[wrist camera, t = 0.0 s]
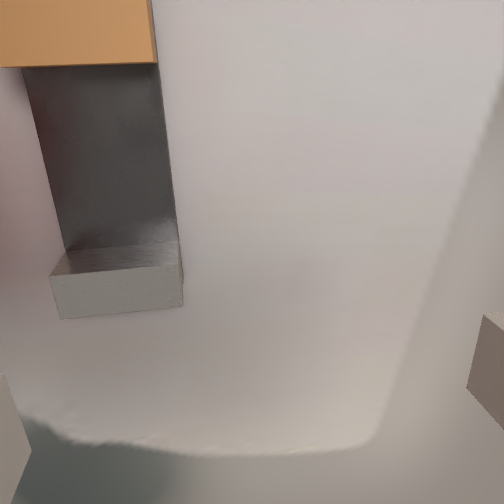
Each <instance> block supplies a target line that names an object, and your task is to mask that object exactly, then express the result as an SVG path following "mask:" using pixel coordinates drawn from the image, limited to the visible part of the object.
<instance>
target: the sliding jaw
mask: <svg viewBox="0 0 504 504" xmlns="http://www.w3.org/2000/svg"><path fill="white" fill-rule="evenodd" d="M145 63H157V55H156V46H155V38H154V29H153V21H152V12H151V3H150V1H149V0H0V67H9V68H29V67H58V66H87V65H116V64H145Z"/></svg>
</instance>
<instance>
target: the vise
mask: <svg viewBox="0 0 504 504" xmlns="http://www.w3.org/2000/svg"><path fill="white" fill-rule="evenodd" d="M149 1H150V3H151V12H152V21H153V29H154V38H155V46H156V37H155V28H154V20H153V11H152V2H151V0H149ZM156 55H157V63H145V64H116V65H87V66H58V67H29V68H22V71H23V76H24V80H25V84H26V88H27V92H28V96H29V100H30V105H31V109H32V113H33V117H34V121H35V125H36V130H37V134H38V138H39V142H40V146H41V150H42V154H43V159H44V163H45V167H46V171H47V175H48V179H49V183H50V188H51V192H52V196H53V200H54V204H55V208H56V213H57V217H58V221H59V225H60V229H61V233H62V237H63V242H64V246H65V250H66V252H65V253H64V255H63V256H62V258H61V259H60V261H59V262H58V264H57V265H56V267H55V268H54V270H53V271H52V273H51V274H50V276H49V278H50V282H51V285H52V289H53V293H54V297H55V300H56V304H57V308H58V312H59V315H60V319H70V318H79V317H88V316H98V315H107V314H116V313H125V312H135V311H144V310H153V309H163V308H172V307H181V306H183V270H182V261H181V253H180V244H179V235H178V227H177V218H176V210H175V201H174V192H173V184H172V175H171V166H170V158H169V149H168V140H167V132H166V123H165V115H164V106H163V97H162V89H161V80H160V71H159V63H158V54H157V46H156Z"/></svg>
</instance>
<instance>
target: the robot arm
mask: <svg viewBox="0 0 504 504" xmlns="http://www.w3.org/2000/svg"><path fill="white" fill-rule="evenodd" d="M466 388H467V389H468V390H469V391H470V393H471V394H472V395H473V396H474V397H475V398H476V399H477V400H478V402H479V403H480V404H481V405H482V406H483V407H484V408H485V409H486V411H488V413H489V414H490V415H491V416H492V417H493V418H494V419H495V421H496V422H497V423H498V424H499V425H500V426H501V427H502V428H503V430H504V312H499V313H491V314H483V318H482V323H481V327H480V331H479V336H478V340H477V344H476V348H475V353H474V357H473V361H472V366H471V370H470V374H469V379H468V384H467V387H466ZM30 453H31V448H30V445H29V442H28V439H27V437H26V434H25V431H24V428H23V425H22V423H21V420H20V417H19V414H18V411H17V408H16V406H15V403H14V400H13V397H12V394H11V392H10V389H9V386H8V383H7V380H6V377H5V375H4V373H0V504H10V503H11V501H12V498H13V496H14V493H15V491H16V488H17V486H18V483H19V481H20V478H21V476H22V474H23V471H24V468H25V466H26V463H27V461H28V459H29V456H30Z"/></svg>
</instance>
